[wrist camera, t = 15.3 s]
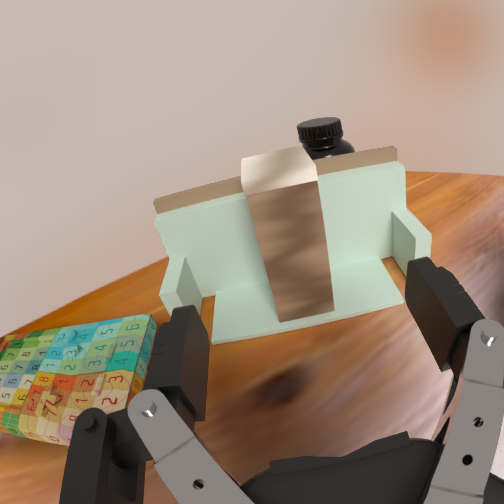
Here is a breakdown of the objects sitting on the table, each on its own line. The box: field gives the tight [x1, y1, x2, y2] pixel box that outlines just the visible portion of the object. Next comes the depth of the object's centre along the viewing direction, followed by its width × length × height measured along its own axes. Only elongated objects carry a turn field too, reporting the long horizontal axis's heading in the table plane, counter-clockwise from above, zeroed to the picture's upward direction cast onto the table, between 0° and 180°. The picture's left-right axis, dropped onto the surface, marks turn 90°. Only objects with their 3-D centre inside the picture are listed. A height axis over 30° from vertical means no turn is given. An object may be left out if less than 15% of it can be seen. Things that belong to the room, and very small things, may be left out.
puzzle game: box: [0, 314, 157, 446], centre depth 22 cm, size 12×5×20 cm
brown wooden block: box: [241, 146, 335, 323], centre depth 24 cm, size 5×5×12 cm
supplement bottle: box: [297, 117, 355, 160], centre depth 35 cm, size 7×7×12 cm
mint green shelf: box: [153, 146, 432, 345], centre depth 26 cm, size 22×9×10 cm, turn 92°
